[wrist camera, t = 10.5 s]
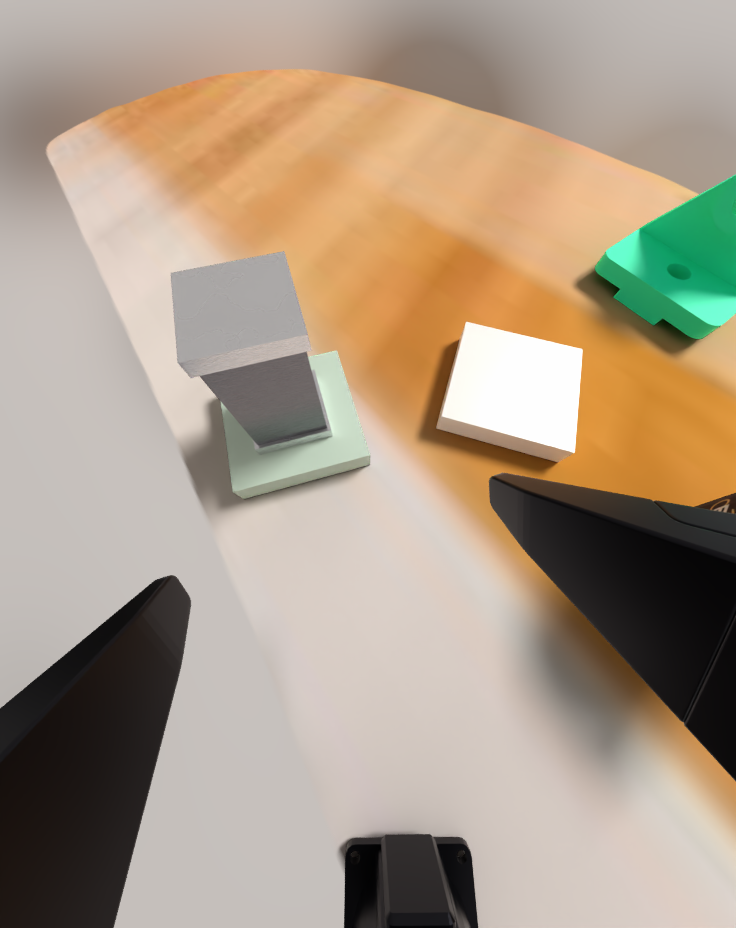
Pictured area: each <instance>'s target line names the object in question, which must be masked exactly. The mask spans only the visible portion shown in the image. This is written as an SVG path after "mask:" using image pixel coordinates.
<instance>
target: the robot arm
mask: <svg viewBox="0 0 736 928" xmlns="http://www.w3.org/2000/svg"><path fill="white" fill-rule="evenodd" d="M489 493H490V503H491V506H492V508H493V509H494V511H495V512H496V513H497V515H498V516H499V517H500V519H501V520H502V522H503V523H504V524H505V526H506V527H507V528H508V530H509V531H510V532H511V534H512V535H513V536H514V538H515V539H516V540H517V542H518V543H519V544H520V546H521V547H522V548H523V549H524V550H525V552H526V553H527V554H528V555H529V556H530V557H531V558H532V559H533V560H534V561H535V563H536V564H537V565H538V566H539V567H540V568H541V569H542V570H543V571H544V572H545V573H546V575H547V576H548V577H549V578H550V579H551V580H552V581H553V582H554V583H555V584H556V585H557V587H558V588H559V589H560V590H561V591H562V592H563V593H564V594H565V595H566V596H567V597H568V599H569V600H570V601H571V602H572V603H573V604H574V605H575V606H576V607H577V608H578V609H579V611H580V612H581V613H582V614H583V615H584V616H585V617H586V618H587V619H588V620H589V621H590V623H591V624H592V625H593V626H594V627H595V628H596V629H597V630H598V631H599V632H600V633H601V635H602V636H603V637H604V638H605V639H606V640H607V641H608V642H609V643H610V644H611V645H612V647H613V648H614V649H615V650H616V651H617V652H618V653H619V654H620V655H621V656H622V657H623V658H624V660H625V661H626V662H627V663H628V664H629V665H630V666H631V667H632V668H633V669H634V670H635V672H636V673H637V674H638V675H639V676H640V677H641V678H642V679H643V680H644V681H645V682H646V684H647V685H648V686H649V687H650V688H651V689H652V690H653V691H654V692H655V693H656V694H657V696H658V697H659V698H660V699H661V700H662V701H663V702H664V703H665V704H666V705H667V706H668V708H669V709H670V710H671V711H672V712H673V713H674V714H675V715H676V716H677V717H678V718H679V720H680V721H682V722H684V725H685V727H686V728H687V729H688V730H689V731H690V732H691V733H692V734H693V735H694V736H695V737H696V738H697V740H698V741H699V742H700V743H701V744H702V745H703V746H704V747H705V748H706V749H707V750H708V752H709V753H710V754H711V755H712V756H713V757H714V758H715V759H716V760H717V761H718V762H719V764H720V765H721V766H722V767H723V768H724V769H725V770H726V771H727V772H728V773H729V774H730V776H731V777H732V778H733V779H734V780H735V781H736V514H734V513H727V512H721V511H714V510H708V509H702V508H696V507H690V506H684V505H679V504H673V503H667V502H662V501H652V500H650V499H645V498H640V497H634V496H629V495H623V494H618V493H612V492H607V491H601V490H596V489H590V488H585V487H579V486H574V485H568V484H563V483H557V482H552V481H546V480H541V479H535V478H530V477H524V476H519V475H513V474H508V473H501V474H497V475H494V476H492V477H491V478H490V479H489ZM190 607H191V600H190V597H189V595H188V593H187V592H186V591H185V589H184V587H183V586H182V584H181V583H180V582H179V580H178V579H177V577H175V576H173V575H170V576H167V577H163V578H160V579H157V580H155V581H154V582H152V583H151V584H150V585H149V586H148V587H146V588H145V589H144V590H143V591H142V592H140V593H139V594H138V595H137V596H135V597H134V598H133V599H132V600H131V601H129V602H128V603H127V604H126V605H125V606H123V607H122V608H121V609H120V610H118V611H117V612H116V613H115V614H114V615H112V616H111V617H110V618H109V619H108V620H106V622H104V623H103V624H102V625H100V626H99V627H98V628H97V629H96V630H94V631H93V632H92V633H91V634H90V635H88V636H87V637H86V638H85V639H83V640H82V641H81V642H80V643H79V644H77V645H76V646H75V647H74V648H73V649H71V650H70V651H69V652H68V653H67V654H65V655H64V656H63V657H62V658H61V659H60V660H58V661H57V662H56V663H54V664H53V665H52V666H51V667H50V668H48V669H47V670H46V671H45V672H44V673H42V674H41V675H40V676H39V677H38V678H36V679H35V680H34V681H33V682H32V683H30V684H29V685H28V686H27V687H26V688H24V689H23V690H22V691H21V692H19V693H18V694H17V695H16V696H15V697H14V698H12V699H11V700H10V701H9V702H7V703H6V704H5V705H4V706H3V707H1V708H0V928H113V927H114V924H115V920H116V916H117V912H118V908H119V904H120V901H121V897H122V893H123V889H124V885H125V882H126V878H127V874H128V870H129V866H130V862H131V858H132V854H133V850H134V847H135V843H136V839H137V835H138V831H139V827H140V824H141V820H142V815H143V812H144V808H145V804H146V800H147V796H148V793H149V789H150V785H151V781H152V777H153V773H154V770H155V766H156V762H157V758H158V754H159V750H160V747H161V743H162V739H163V735H164V731H165V727H166V723H167V720H168V715H169V712H170V708H171V704H172V700H173V696H174V692H175V688H176V685H177V681H178V677H179V673H180V669H181V664H182V659H183V654H184V647H185V641H186V634H187V628H188V621H189V614H190ZM460 850H463V851H464V855H463V856H462V857H458V856H457V853H458V852H459V851H460ZM353 851H357V852H358V853H359V856H358V857H357V858H354V857H352V855H351V853H352V852H353ZM344 910H345V911H344V912H345V913H344V928H478V921H477V910H476V899H475V888H474V877H473V867H472V856H471V852H470V849H469V847H468V844H467V843H466V841H465V840H464V839H463V838H460V837H432V836H431V835H430V834H415V835H385V836H384V837H383V838H354V839H351V840H350V841H349V842H348V844H347V847H346V856H345V909H344Z"/></svg>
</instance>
